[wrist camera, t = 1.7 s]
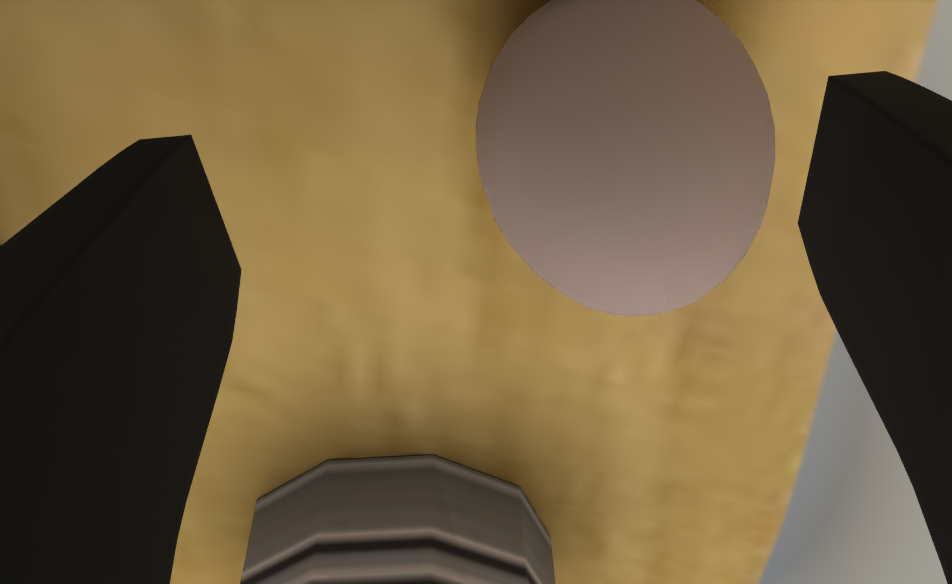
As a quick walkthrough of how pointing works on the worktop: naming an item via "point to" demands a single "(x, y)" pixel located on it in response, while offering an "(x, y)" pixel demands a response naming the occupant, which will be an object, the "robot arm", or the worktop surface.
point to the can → (397, 527)
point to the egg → (626, 150)
